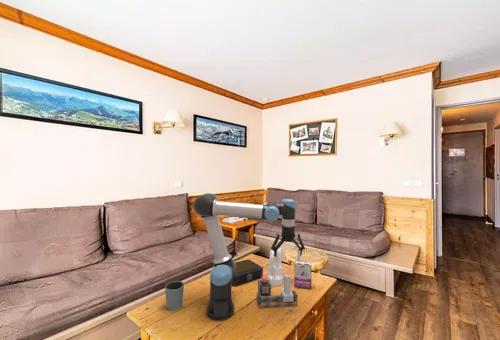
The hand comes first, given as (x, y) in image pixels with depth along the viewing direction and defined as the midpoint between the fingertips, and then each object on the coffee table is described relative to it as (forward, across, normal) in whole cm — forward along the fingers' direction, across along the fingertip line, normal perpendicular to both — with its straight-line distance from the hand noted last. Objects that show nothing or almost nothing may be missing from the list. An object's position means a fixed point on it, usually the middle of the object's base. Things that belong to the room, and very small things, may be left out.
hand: (287, 261), depth 137 cm
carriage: (+22, 0, 0) cm, 22 cm away
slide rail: (+24, -6, 0) cm, 25 cm away
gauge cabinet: (+24, -12, +9) cm, 28 cm away
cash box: (+25, -23, +35) cm, 49 cm away
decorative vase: (+24, -1, +25) cm, 35 cm away
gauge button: (+16, -12, +9) cm, 22 cm away
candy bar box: (+24, +16, +17) cm, 34 cm away
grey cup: (+24, -65, +3) cm, 70 cm away
